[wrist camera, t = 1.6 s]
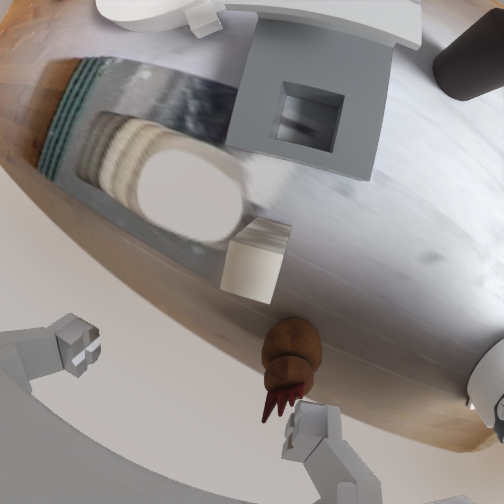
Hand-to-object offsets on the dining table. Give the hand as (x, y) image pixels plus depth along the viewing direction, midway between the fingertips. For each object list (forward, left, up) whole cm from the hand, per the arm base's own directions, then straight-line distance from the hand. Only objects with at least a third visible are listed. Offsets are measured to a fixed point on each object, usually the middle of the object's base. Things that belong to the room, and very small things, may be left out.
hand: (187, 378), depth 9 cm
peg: (0, 0, -24) cm, 24 cm away
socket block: (-1, -17, -24) cm, 29 cm away
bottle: (-18, -27, -24) cm, 40 cm away
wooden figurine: (-6, +11, -24) cm, 27 cm away
